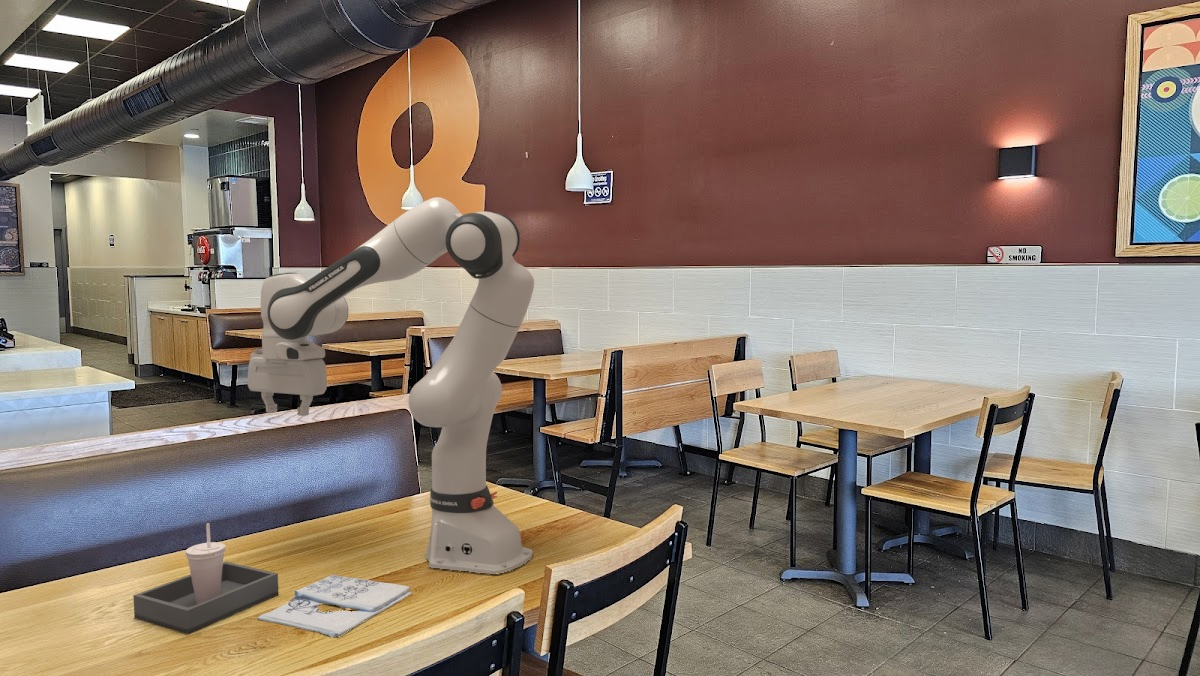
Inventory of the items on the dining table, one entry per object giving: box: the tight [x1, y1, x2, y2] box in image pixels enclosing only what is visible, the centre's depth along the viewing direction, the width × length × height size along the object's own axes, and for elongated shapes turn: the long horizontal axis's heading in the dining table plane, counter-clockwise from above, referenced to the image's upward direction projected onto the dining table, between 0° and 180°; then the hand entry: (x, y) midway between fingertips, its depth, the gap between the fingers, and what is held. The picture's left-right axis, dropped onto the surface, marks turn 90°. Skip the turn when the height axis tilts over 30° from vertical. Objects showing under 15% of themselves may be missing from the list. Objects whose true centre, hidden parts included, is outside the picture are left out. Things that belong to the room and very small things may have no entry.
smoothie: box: [185, 522, 227, 604], centre depth 138 cm, size 6×6×14 cm
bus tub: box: [132, 561, 280, 635], centre depth 139 cm, size 14×18×4 cm
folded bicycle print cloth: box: [257, 574, 413, 638], centre depth 139 cm, size 19×20×2 cm
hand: (287, 414), depth 168 cm, fingers open, 8 cm apart
